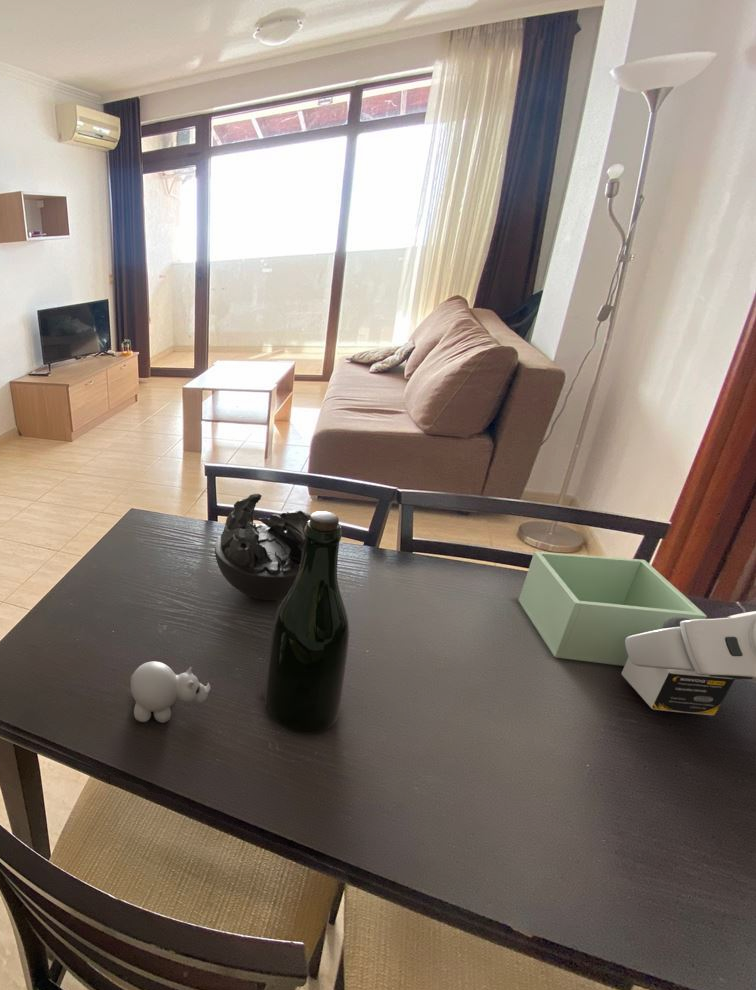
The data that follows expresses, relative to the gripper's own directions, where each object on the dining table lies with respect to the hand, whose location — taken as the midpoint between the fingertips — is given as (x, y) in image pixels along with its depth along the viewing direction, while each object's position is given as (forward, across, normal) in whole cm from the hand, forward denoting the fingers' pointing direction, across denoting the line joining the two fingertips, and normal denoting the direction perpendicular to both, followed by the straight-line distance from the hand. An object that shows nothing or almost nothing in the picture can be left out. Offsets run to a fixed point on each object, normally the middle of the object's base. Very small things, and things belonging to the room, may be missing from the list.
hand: (678, 655), depth 75 cm
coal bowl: (+24, +52, -13) cm, 58 cm away
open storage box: (+16, 0, -5) cm, 17 cm away
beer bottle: (+2, +51, +9) cm, 52 cm away
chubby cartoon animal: (+1, +70, +10) cm, 71 cm away
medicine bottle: (+4, 0, +5) cm, 7 cm away
